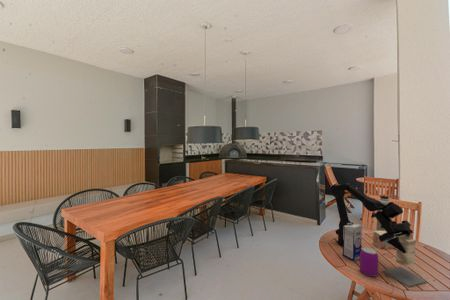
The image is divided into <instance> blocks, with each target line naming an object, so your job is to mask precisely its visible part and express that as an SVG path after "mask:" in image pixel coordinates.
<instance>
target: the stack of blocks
mask: <svg viewBox="0 0 450 300" xmlns="http://www.w3.org/2000/svg"><path fill="white" fill-rule="evenodd" d="M410 229H411V230H412V231H413V229H412V228H410ZM384 233H387V232H386V231H377V230H373V236H372V245H374V246H375V247H377V248H378V249H379V250H383V249H385V250H387V249H388V250H389V249H396V248H395V247H394V246H392V245H391V244H389V243H387V241H388V240H386V241H384V242H381V241H380V240H379V236H380V235H382V234H384ZM397 237H398V236H397ZM409 238H411V239H413V233H412V234H410V237H409Z"/></svg>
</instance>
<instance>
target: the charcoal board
mask: <svg viewBox="0 0 450 300" xmlns="http://www.w3.org/2000/svg"><path fill="white" fill-rule="evenodd" d="M382 272H383V273H384V274H386V275H387V276H389V277H391V278H392V279H394V280H396V281H397V282H399V283H401V284H403V285H404V286H406V287H407V288H412V287H417V286H420V285H423V284H427V283H428V281H427V280H426V279H424V278H422V277H419V276H418V275H416V274H414V273H412V271H411V272H410V271H409V270H407V269H405V268H403V267H402V266H396V267H391V268H388V269H384V270H382Z"/></svg>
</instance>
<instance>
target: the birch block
mask: <svg viewBox="0 0 450 300" xmlns="http://www.w3.org/2000/svg"><path fill="white" fill-rule="evenodd" d="M399 242H400V243H401V245H402V246H403V248H404V250H405V251H406V253H403V252H401V251H400V250H398V249H397V248H396V252H395V253H396V255H395V256H396V257H395V262H396V263H398V264H400V265H401V266H403V267H406V268H410V267H414V266H415V258H416V257H415V255H416V243H417V242H416V239H414V238H412V239H411V238H409V237H406V236H400V237H399Z"/></svg>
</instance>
